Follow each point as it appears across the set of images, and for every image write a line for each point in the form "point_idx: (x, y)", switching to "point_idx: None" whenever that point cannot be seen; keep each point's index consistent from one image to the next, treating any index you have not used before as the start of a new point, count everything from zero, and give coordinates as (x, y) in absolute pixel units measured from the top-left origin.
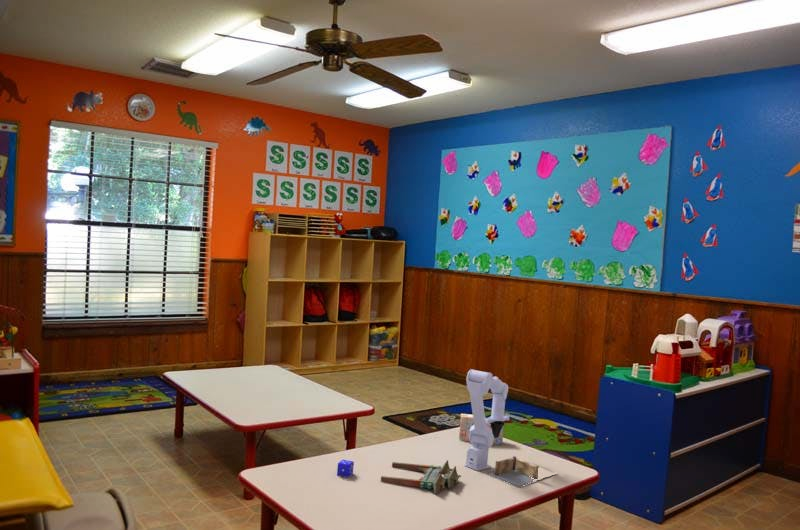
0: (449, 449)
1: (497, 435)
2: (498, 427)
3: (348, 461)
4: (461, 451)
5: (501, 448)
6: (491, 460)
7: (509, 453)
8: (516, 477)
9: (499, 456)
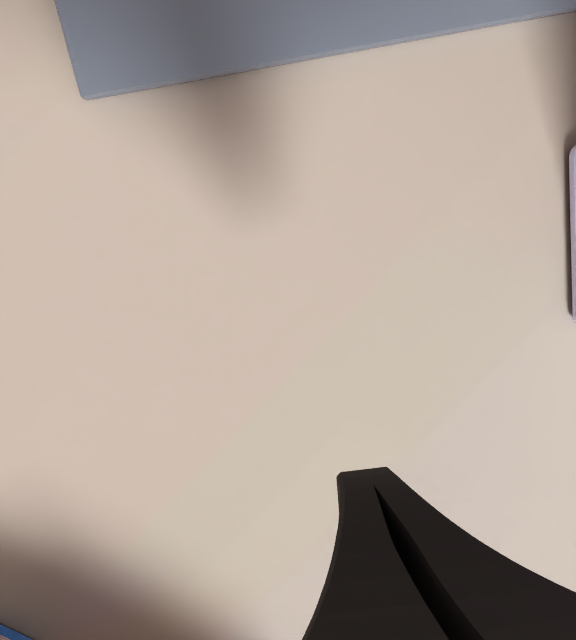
0: None
1: (390, 485)
2: (527, 602)
3: None
4: None
5: (58, 544)
6: (409, 310)
7: (71, 411)
8: None
9: (243, 374)
